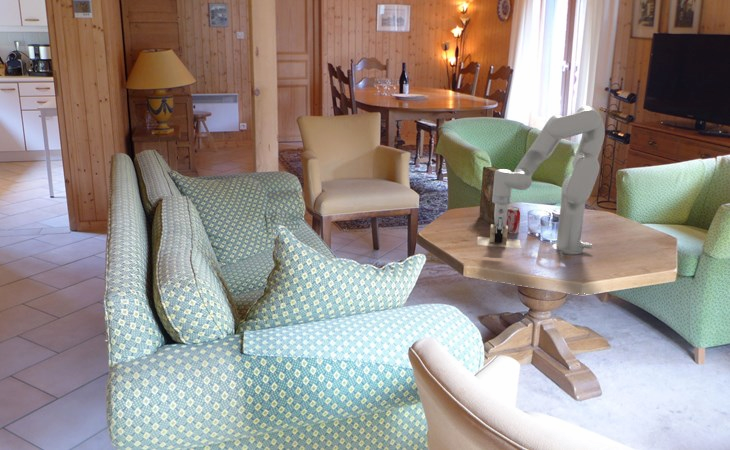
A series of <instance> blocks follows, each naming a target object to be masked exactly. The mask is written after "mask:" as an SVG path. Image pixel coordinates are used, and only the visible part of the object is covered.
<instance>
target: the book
mask: <svg viewBox="0 0 730 450" xmlns="http://www.w3.org/2000/svg"><path fill="white" fill-rule="evenodd" d="M498 169H500V168H499V167H497V166H494V165H493V166H483V167H482V176H481V186H480V187H481V190H480V201H479V217H480V218H481V219H483V220H485V221H486V222H488V223H490V225H491V224H492V225H495V222H494V211H495V203H493V202H492V198H493V186H494V174H495V171H496V170H498Z"/></svg>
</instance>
